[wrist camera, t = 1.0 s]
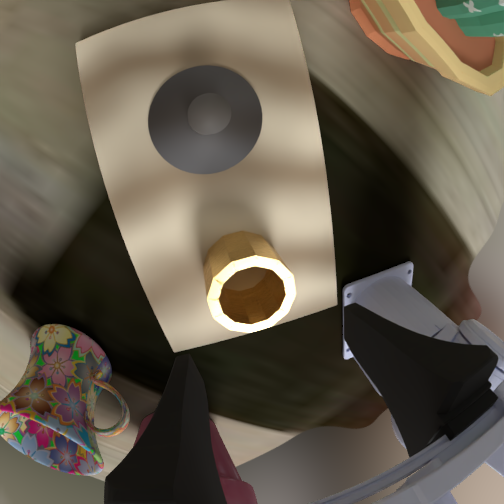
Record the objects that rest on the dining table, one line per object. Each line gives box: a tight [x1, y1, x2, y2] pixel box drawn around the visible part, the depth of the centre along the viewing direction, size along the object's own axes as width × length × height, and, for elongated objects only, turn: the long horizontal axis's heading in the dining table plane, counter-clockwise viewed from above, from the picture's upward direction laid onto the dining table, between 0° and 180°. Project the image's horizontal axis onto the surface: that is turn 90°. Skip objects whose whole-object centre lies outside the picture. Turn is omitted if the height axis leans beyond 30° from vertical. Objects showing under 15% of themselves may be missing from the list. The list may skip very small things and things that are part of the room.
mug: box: [0, 324, 130, 475], centre depth 16 cm, size 12×9×11 cm
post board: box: [75, 0, 337, 352], centre depth 16 cm, size 24×14×5 cm, turn 12°
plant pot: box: [133, 413, 257, 504], centre depth 22 cm, size 14×14×13 cm
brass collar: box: [203, 231, 296, 333], centre depth 18 cm, size 5×5×4 cm
